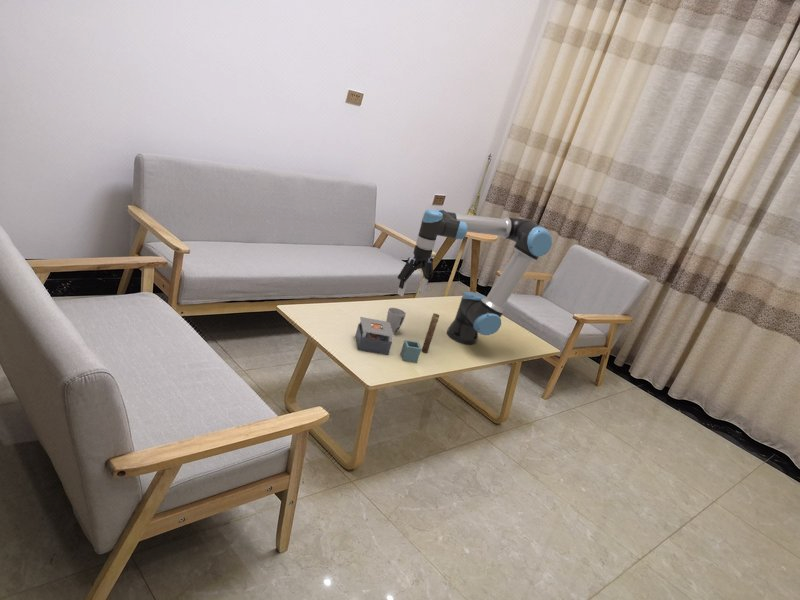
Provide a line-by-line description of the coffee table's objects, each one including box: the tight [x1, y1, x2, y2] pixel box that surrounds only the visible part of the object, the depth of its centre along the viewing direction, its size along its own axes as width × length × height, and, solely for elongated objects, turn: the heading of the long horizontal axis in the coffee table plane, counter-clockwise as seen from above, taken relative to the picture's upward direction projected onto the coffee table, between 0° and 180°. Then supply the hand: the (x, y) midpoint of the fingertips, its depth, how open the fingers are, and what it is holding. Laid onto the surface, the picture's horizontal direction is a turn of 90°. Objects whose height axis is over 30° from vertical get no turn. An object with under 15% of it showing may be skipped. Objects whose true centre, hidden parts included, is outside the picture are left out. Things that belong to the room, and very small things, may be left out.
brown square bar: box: [421, 312, 440, 354], centre depth 234 cm, size 3×3×18 cm
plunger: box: [370, 324, 382, 336], centre depth 226 cm, size 4×4×4 cm
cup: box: [385, 307, 407, 335], centre depth 246 cm, size 8×8×10 cm
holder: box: [400, 339, 422, 364], centre depth 226 cm, size 6×6×7 cm
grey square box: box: [354, 316, 395, 356], centre depth 227 cm, size 13×13×9 cm
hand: (411, 293), depth 231 cm, fingers open, 13 cm apart
